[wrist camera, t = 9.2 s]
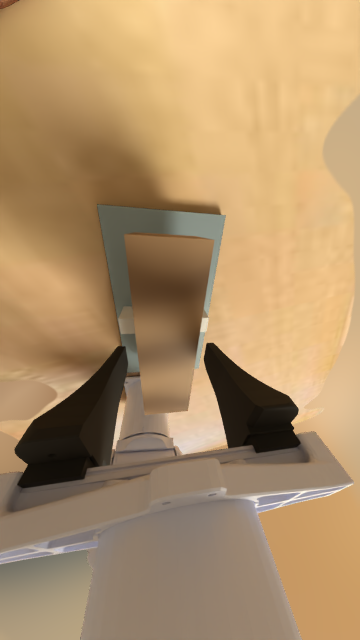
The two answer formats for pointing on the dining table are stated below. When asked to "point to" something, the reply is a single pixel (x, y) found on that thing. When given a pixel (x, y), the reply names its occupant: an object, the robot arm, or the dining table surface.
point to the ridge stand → (113, 230)
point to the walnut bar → (167, 313)
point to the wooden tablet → (6, 3)
